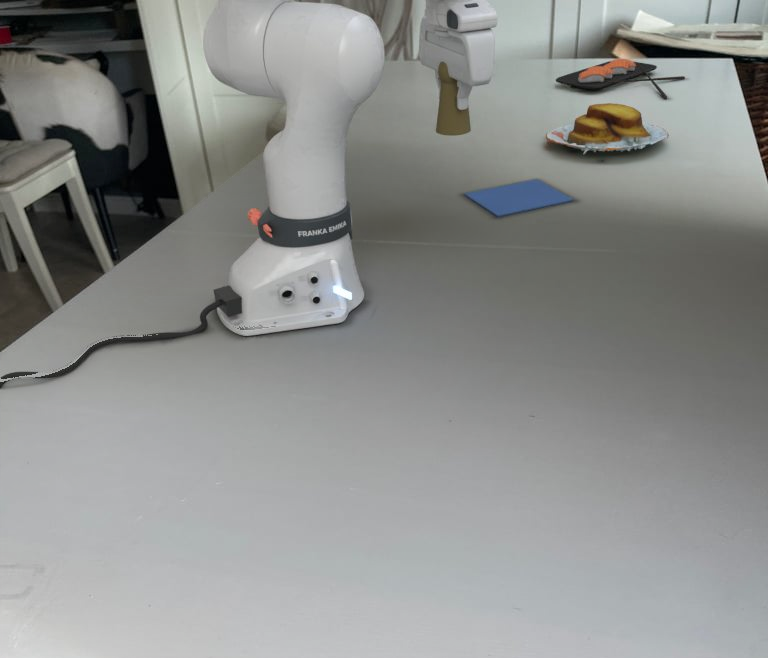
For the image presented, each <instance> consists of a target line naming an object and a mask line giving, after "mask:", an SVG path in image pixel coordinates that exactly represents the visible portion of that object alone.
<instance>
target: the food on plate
mask: <svg viewBox="0 0 768 658" xmlns="http://www.w3.org/2000/svg"><path fill="white" fill-rule="evenodd" d="M564 128H565V130H564ZM669 136H670V135H669V132H668V131H667V130H666V129H664V128H662V127H659V126H658V125H654V124H649V123H643V117H642V113H641V112H640V110H638V109H637V108H635V107H633V106H629V105H626V104H620V103H609V102H608V103H595V104H590V105H589V106H588V108H587V111H586V113H584V114H582V115H580V116H578V117H576V118H575V120H574V122H573V123H572V124H571V123H570V124H566V125H562V126H559V127H556V128H555V129H552V130H550V131H549V132H547V133H546V134H545V137H546V139H545V140H546V144H547V146H546V148H550V146H551V145H550V143H554V144H558V145H559V144H560V145H562V146H563V145H564V146H567V147H570V148H573V149H578V150H581V152H583V155H585V154H586V153H587V152H589V151H592V152H594V153H596V152H597V151H598V152H605V151H607V152H613V151H616V152H619V151H620V152H621V153H622V152H624V151H628V152H630V151H631V150H633V149H634V150H637V149H638V150H642V149H643V148H646V146H647V145H655V144H656V143H657V142H661V141H663V140H664V139H669ZM601 162H603V159H602V160H601Z"/></svg>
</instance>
